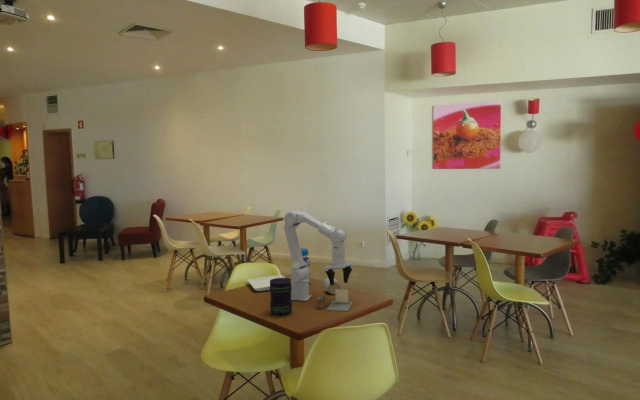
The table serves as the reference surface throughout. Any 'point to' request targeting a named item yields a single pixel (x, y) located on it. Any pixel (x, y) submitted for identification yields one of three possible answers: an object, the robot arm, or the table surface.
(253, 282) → the salad plate
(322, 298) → the bar
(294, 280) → the robot arm
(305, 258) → the beverage bottle
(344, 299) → the tile
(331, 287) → the ceramic mug
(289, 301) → the storage jar
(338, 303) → the mat
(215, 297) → the table surface
